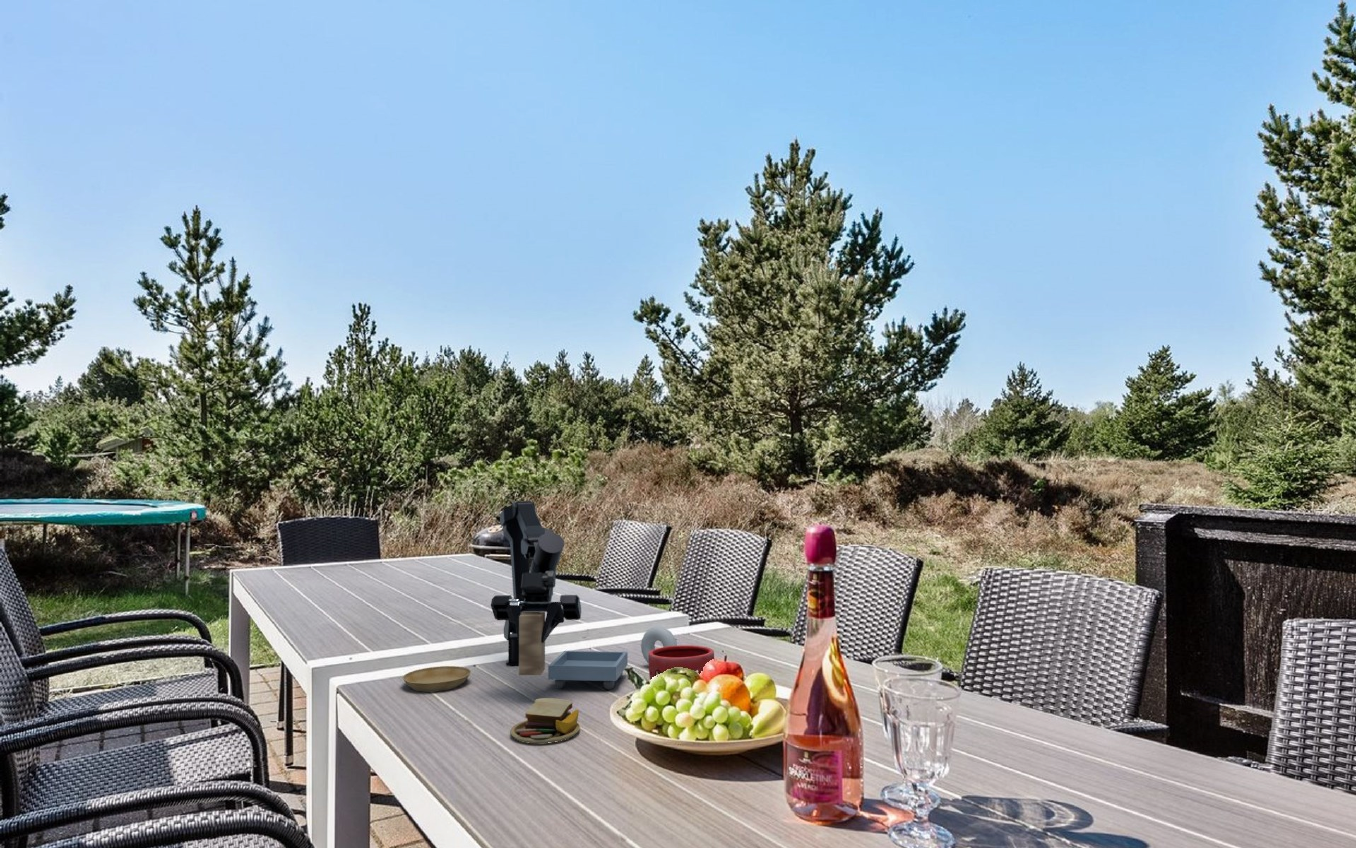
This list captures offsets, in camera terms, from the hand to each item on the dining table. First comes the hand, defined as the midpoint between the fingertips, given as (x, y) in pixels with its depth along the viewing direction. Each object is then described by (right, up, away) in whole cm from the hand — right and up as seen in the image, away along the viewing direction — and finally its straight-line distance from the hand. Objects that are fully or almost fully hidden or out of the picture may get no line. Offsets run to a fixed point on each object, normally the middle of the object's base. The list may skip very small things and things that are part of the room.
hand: (530, 641), depth 160 cm
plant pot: (+31, -12, -8) cm, 34 cm away
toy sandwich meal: (+6, -12, -19) cm, 23 cm away
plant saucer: (-24, -14, +13) cm, 31 cm away
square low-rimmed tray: (+11, -13, +14) cm, 22 cm away
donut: (+26, -14, +26) cm, 39 cm away
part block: (0, -7, +1) cm, 7 cm away
